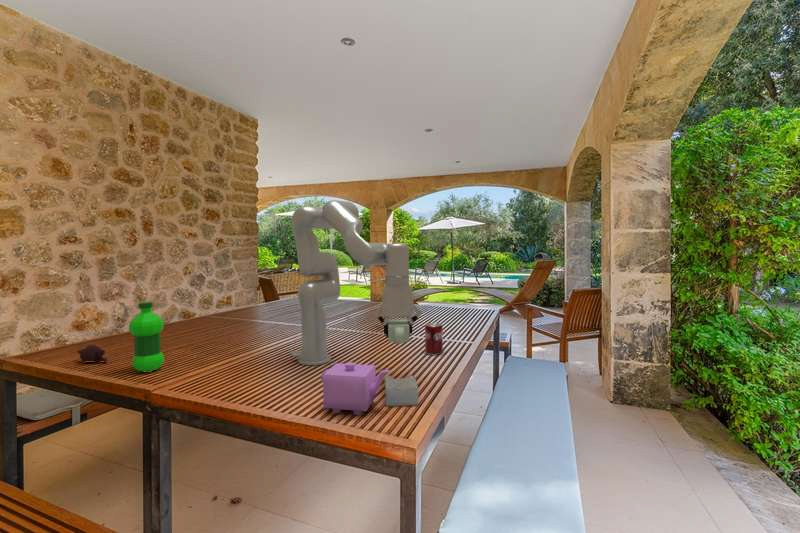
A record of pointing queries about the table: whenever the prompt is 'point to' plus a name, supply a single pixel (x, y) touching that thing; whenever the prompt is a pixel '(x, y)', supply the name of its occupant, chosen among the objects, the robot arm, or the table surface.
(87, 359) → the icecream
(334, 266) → the robot arm
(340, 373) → the teapot
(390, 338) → the sage hinge leaf
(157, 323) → the plastic bottle
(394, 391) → the steel hinge leaf
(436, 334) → the soda can
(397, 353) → the table surface
